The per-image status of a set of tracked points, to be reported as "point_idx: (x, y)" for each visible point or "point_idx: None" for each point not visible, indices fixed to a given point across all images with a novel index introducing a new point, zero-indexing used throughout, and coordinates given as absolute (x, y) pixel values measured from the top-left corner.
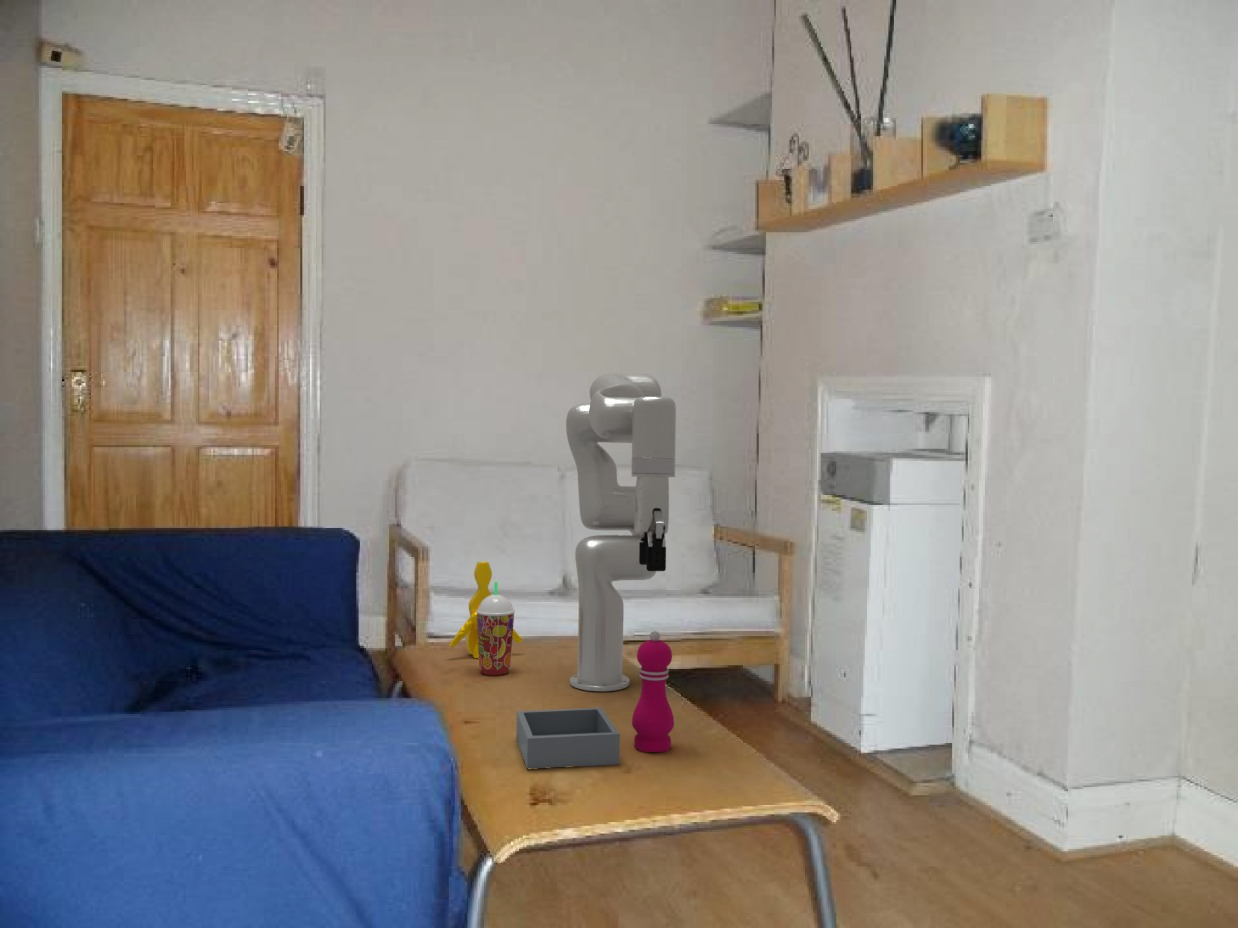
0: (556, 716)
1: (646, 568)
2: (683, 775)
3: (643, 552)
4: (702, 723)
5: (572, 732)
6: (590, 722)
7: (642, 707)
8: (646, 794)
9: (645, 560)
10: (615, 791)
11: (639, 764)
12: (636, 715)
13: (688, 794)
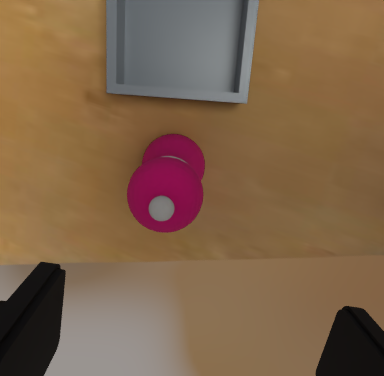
0: (245, 20)
1: (55, 265)
2: (67, 162)
3: (371, 370)
4: (252, 252)
5: (237, 54)
6: (236, 83)
7: (158, 148)
8: (8, 96)
9: (342, 343)
10: (22, 59)
11: (113, 121)
12: (165, 139)
13: (5, 146)
